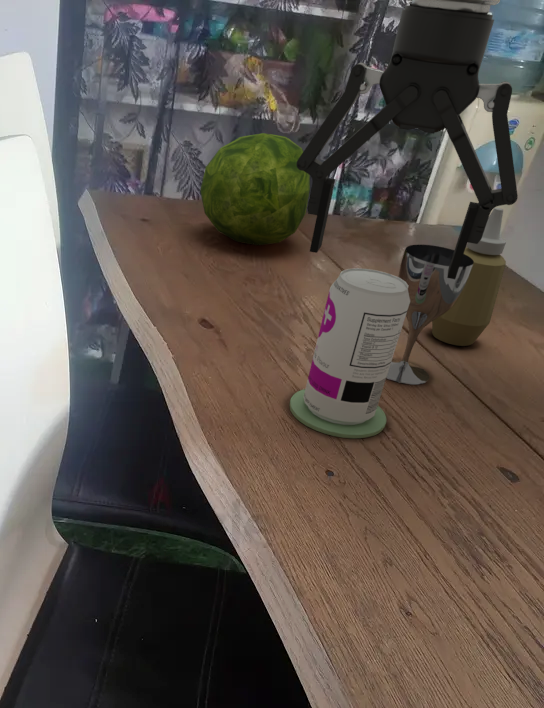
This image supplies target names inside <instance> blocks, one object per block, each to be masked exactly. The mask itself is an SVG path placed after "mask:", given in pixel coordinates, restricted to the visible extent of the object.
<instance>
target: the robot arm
mask: <svg viewBox="0 0 544 708" xmlns="http://www.w3.org/2000/svg"><path fill="white" fill-rule="evenodd" d="M500 2H501V0H411V1H410V2H409V4H408V5H407V4H406V5H405V7H404V9H401V14H400V17H399V23H398V27H397V31H396V35H395V39H394V44H393V48H392V51H391V52H392V53H391V57H390V60H389V63H388V65H387V67H386V68H385V69H384V70H381V69H379V68H374V67H370V66H368V65H367V64H366V62H359V63H357V64H354V65H353V67H351V70H350V73H349V76H348V79H347V82H346V85H345V88H344V91H343V93H342V94H341V96H340V98H339V99H338V100H337V101H336V103H335V105H334V106H333V107H332V109H331V111H330V112H329V114H328V115H327V116H326V118H325V120H324V121H323V123H322V124H321V126H320V127H319V128H318V129H317V131H316V133H315V134H314V135H313V137H312V139H311V140H310V142H309V143H308V144H307V146H306V147H305V149H303V151H304V152H303V153H302V155H301V156H300V158H299V159H298V161H297V168H298V169H299V170H301V171H304V172H306V173H308V174H309V175H310V178H311V180H312V183H311V186H310V193H309V198H308V204H307V209H306V210H307V213H308V215H313V216H316V218H315V223H314V229H313V233H312V237H311V241H310V247H309V252H310V253H315V254H318V252H319V251H320V249H321V247H322V245H323V240H324V236H325V231H326V227H327V221H328V217H329V212H330V207H331V202H332V199H333V193H334V189H335V184H336V180H337V179H336V178H333V177H332V178H331V177H329V176H330V174H332V173H333V172H334V171H335V170H336V169H338V167H339V166H341V165H342V164H343V163H344V162H345V161H347V159H349V158H350V157H351V156H352V155H353V154H354V153H356V152H357V151H358V150H359V149H360V148H361V147H362V146H363V145H365V144H366V143H367V142H369V140H370V139H372V137H374V136H375V135H376V134H377V133H378V132H380V131H381V130H382V129H383V128H384V127H385V126H386V125H388V124H389V123H390V122H391V121H392V122H393V124H394V125H395V126H396V127H398V129H400V130H416V129H418V130H419V131H421V132H424V133H428V134H433V135H434V134H435V133H439V132H442V131H443V130H445V131H446V133H447V135H448V137H449V140H450V141H451V143H452V145H453V148H454V150H455V152H456V154H457V157H458V159H459V161H460V163H461V166H462V167H463V170H464V172H465V174H466V176H467V179H468V181H469V184H470V186H471V188H472V190H473V192H474V194H475V197H476V198H477V201H478V202H474V201H469V204H468V207H467V210H466V214H465V217H464V219H463V222H462V226H461V229H460V232H459V235H458V238H457V241H456V244H455V247H454V249H453V250H454V253H453V257H452V260H451V263H450V266H449V269H448V276H447V278H451V279H455V278H456V275H457V272H458V269H459V266H460V263H461V260H462V257H463V254H464V251H465V248H467V244H468V242H469V243H474V244H478V243H479V241H480V240H481V239H482V236H483V233H484V230H485V227H486V224H487V221H488V218H489V216H490V214H491V213H492V211H493V209H494V208H498V207H500V206H505V205H507V206H512V205H514V204H515V203H516V202H517V201H518V196H519V194H518V187H517V179H516V171H515V164H514V157H513V149H512V140H511V134H510V126H509V117H508V113H509V109H510V104H511V98H512V93H513V87H512V85H511V82H509V81H507V80H504V81H501V82H499V83H480V82H479V81H480V80H479V73H480V70H481V65H482V62H483V59H484V55H485V52H486V49H487V45H488V43H489V39H490V35H491V32H492V30H493V26H494V22H495V19H493V17H494V15H493V14H489V13H490V9H491V6H496V5H498V4H499V3H500ZM375 85H379V89H380V92H381V94H382V97H383V101H384V102H385V106H384V107H383V108H381V110H379V111H378V112H377V113H376V114H375V115H373V117H372V118H370V119H369V120H368V121H367V122H366V123H365V124H364V125H362V127H361V128H359V129H358V130H357V131H356V132H355V133H354V134H353V135H351V136H350V138H348V139H347V140H346V141H344V143H342V144H341V145H340V146H339V147H338V148H337V149H336V150H335V151H333V153H332V154H330V155H329V156H328V157H327V158H326V159H325V160H324V161H321V160H319V159H318V158H317V157H318V156H319V155H320V153H321V152H322V150H323V149H324V147H326V145H327V143H328V142H329V140H330V139H331V137H332V136H333V135H334V133H335V132H336V130H337V129H338V128H339V126H340V125H341V123H342V122H343V120H344V119H345V117H346V116H347V115H348V113H349V112H350V110H351V109H352V107H353V106H354V105H355V104H356V101H357V100H358V98H359V96H360V95H366V94H367V93H369V91H371V89H372V87H373V86H375ZM477 98H478V99H481V101H482V102H483V109H484V110H485V111H486V112H487V113H491V121H492V131H493V137H494V138H493V139H494V144H495V145H494V146H495V151H496V159H497V166H498V175H499V182H500V188H496V189H492V186H491V184H490V182H489V180H488V178H487V175H486V172H485V170H484V168H483V166H482V163H481V161H480V159H479V157H478V155H477V152H476V150H475V148H474V146H473V143H472V140H471V138H470V136H469V134H468V131H467V129H466V126H465V124H464V121H463V118H462V116H461V114H462V113H463V112H464V111H465V110H466V109H467V108H468V107H469V106H471V105H472V104H473V103H474V102H475V101H476V100H477Z"/></svg>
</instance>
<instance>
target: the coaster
mask: <svg viewBox="0 0 544 708" xmlns="http://www.w3.org/2000/svg"><path fill="white" fill-rule="evenodd" d="M304 393H305V388H303V389H301V390H300V389H299V390H298V391H297V392H295V393H294V394H293V395H292V396H291V397H290V401H289V410H290V413H291V414H292V415H293V417H294V418H295V419H296V420H297V421H299V422H300V423H301V424H303V425H304V426H305V427H308V428H309V429H312V430H313V431H316V432H318V433H322V434H324V435H328V436H332V437H337V438H343V439H364V438H370V437H374V436H377V435H378V434H380V433H381V432H382V431H383V430H384V429H385V427H386V424H387V415H386V413H385V412H384V411H383V409H382V408H381V407H380V406H379V405H378V406H377V409H376V412H375V415H374V416H373V417H372V418H370V419H369V420H366V421H365V422H363V423H360V424H355V425H342V424H337V423H332V422H329V421H326V420H324V419H321V418H320V417H318V416H316V415H315V414H313V413H312V412H311V411H310V410H309V408H308V406H307V405H306V404H305V401H304Z"/></svg>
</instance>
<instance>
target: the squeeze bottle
mask: <svg viewBox="0 0 544 708" xmlns="http://www.w3.org/2000/svg"><path fill="white" fill-rule="evenodd" d="M503 215H504V209H503V208H500V207H495V208H494V209H492V211H491V213H490V215H489V218H488V221H487V224H486V227H485V230H484V233H483V236H482V239H481V240H480V241H479V243H478V244H474V243H469V242H467V245H466V248H465V251H464V254H465V255H467V256H469V257H470V258H471V259H472V260H473V261H474V263H473V267H472V270H471V272H470V275H469V278H468V280H467V283H466V285H465V287H464V289H463V291H462V293H461V295H460V296H459V298H458V299H457V301H456V303H455V304H454V305H453V306H452V308H451V309H450V310H448V311H447V312H446V313H445V314H443V315H441V316H440V317H438V318H437V319H435V320H433V321H432V322H431V325H432V326H431V334H432V336H433V337H434V338H435V339H437V340H438V341H441V342H443V343H446V344H449V345H453V346H459V347H460V346H461V347H465V346H466V347H467V346H471V345H473V344H474V343H475V342H476V341H477V339H479V337H480V336H481V334H482V333H483V332H484V331H485V329H486V328H487V327H488V326H489V324H490V323H491V320H492V316H493V312H494V309H495V305H496V301H497V297H498V294H499V290H500V287H501V283H502V279H503V275H504V272H505V269H506V265H507V261H506V259H505V257H504V256H503V255H501V254H503V252H504V250H505V247H506V244H507V240H506V239H505V238H503V237H501V235H500V234H501V229H502V222H503Z"/></svg>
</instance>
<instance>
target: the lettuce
mask: <svg viewBox="0 0 544 708" xmlns="http://www.w3.org/2000/svg"><path fill="white" fill-rule="evenodd" d="M303 152H304V148H302V147H301V146H300V145H298V144H297V143H295V142H294V141H293V140H291V139H290V138H288V137H287V136H284V135H278V134H271V133H265V132H262V133H256V134H250V135H244V136H239V137H237V138H236V139H234V140H232V141H230V142H228V143H227V144H225V145H224V146H221V147H220V148H219V149H218V150H217V151H216V153H214V154H215V155H213V157H212V158H211V159H210V161H209V162H208V163H207V164H206V166H205V169H204V173H203V176H202V181H201V185H200V191H199V192H200V197H201V201H202V206H203V211H204V214H205V216H206V218H208V220H209V221H210V223H211V224H212V225H213V226H214V228H215V229H216V231H217V232H219V233H220V234H223V235H224V236H225V237H228V238H229V239H230V240H233V241H235V242H236V243H242V244H247V245H248V244H249V245H254V246H266V245H272V244H279V243H281V242H282V241H285V240H286V239H287V238H289V237H291V236H293V235H294V234H295V233H296V232H297V230H298V228H300V227H299V226H300V224H301V223H302V221H303V219H304V217H305V216H306V214H307V210H308V209H307V207H308V202H309V198H310V192H311V181H310V180H311V176H310V175H309V174H308V173H306V172H304V171H301V170H299V169H298V168H297V161H298V159H299V158H300V156H301V155H302V153H303Z"/></svg>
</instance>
